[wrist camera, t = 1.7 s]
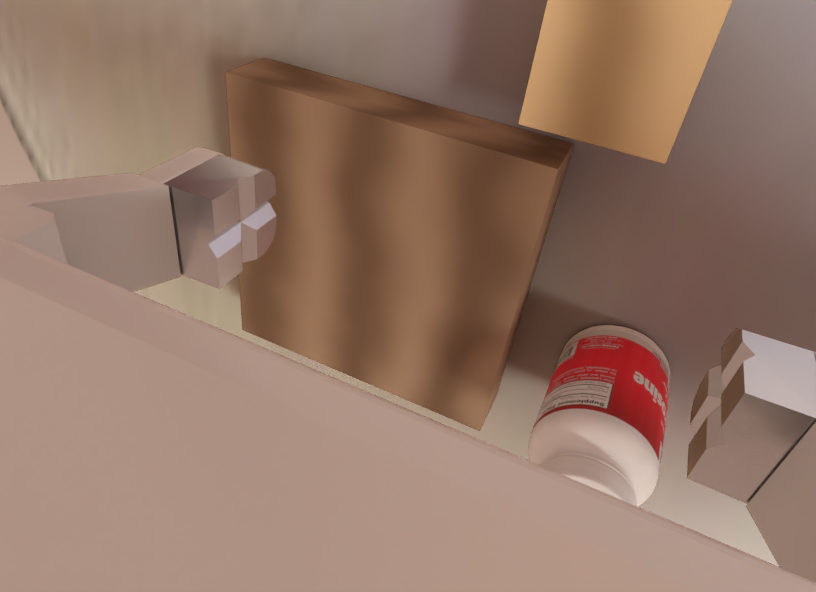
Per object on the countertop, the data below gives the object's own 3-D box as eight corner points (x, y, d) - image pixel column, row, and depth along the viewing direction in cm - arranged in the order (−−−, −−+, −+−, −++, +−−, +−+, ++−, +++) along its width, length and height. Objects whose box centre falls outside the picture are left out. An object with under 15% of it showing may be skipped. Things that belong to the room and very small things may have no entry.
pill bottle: (678, 406, 34) (661, 572, 26) (572, 403, 38) (528, 550, 29) (663, 317, 32) (640, 469, 24) (552, 322, 35) (496, 458, 27)
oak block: (733, -23, 23) (734, -6, 19) (674, 125, 27) (665, 163, 23) (583, -50, 25) (557, -40, 21) (546, 92, 28) (518, 124, 25)
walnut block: (576, 140, 29) (558, 169, 26) (498, 390, 40) (479, 431, 37) (269, 55, 34) (225, 72, 31) (275, 300, 45) (242, 329, 42)
